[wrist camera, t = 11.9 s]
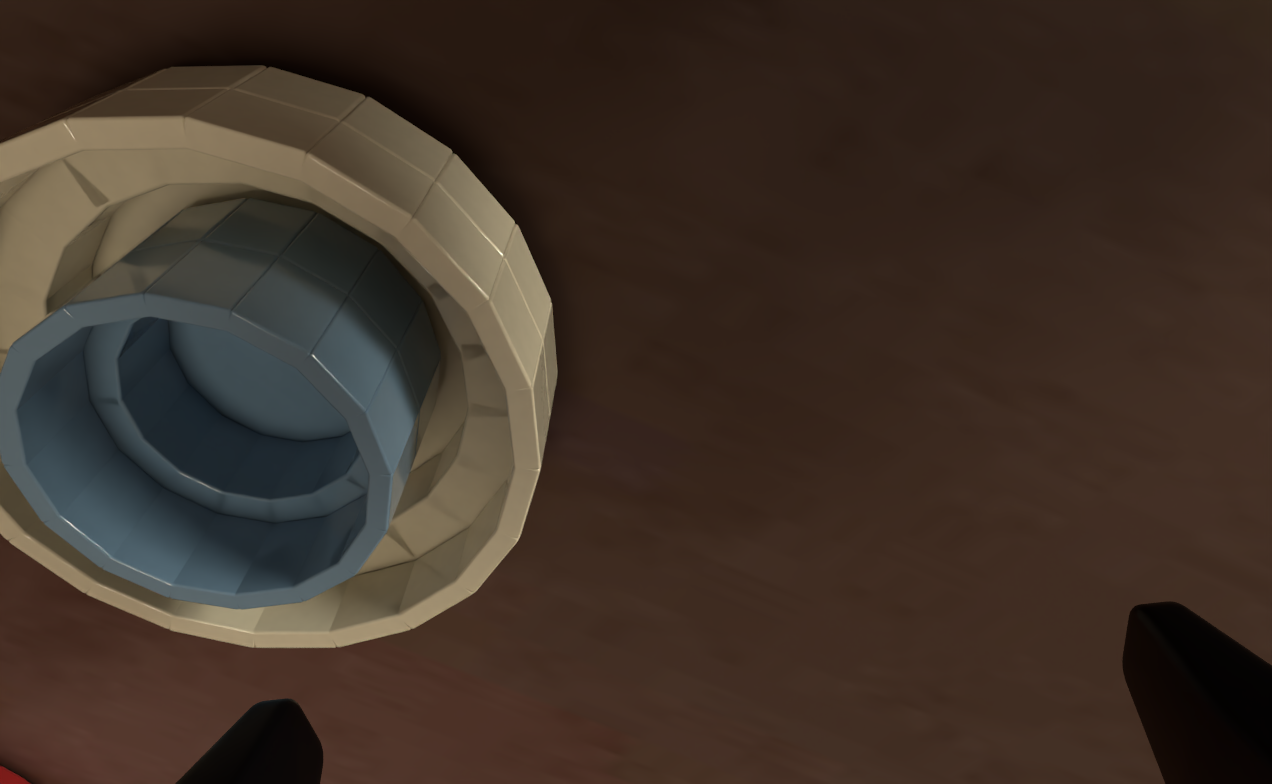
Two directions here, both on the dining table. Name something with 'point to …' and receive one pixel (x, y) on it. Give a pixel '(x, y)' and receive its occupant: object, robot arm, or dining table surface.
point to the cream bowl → (362, 203)
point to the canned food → (10, 777)
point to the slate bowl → (225, 406)
